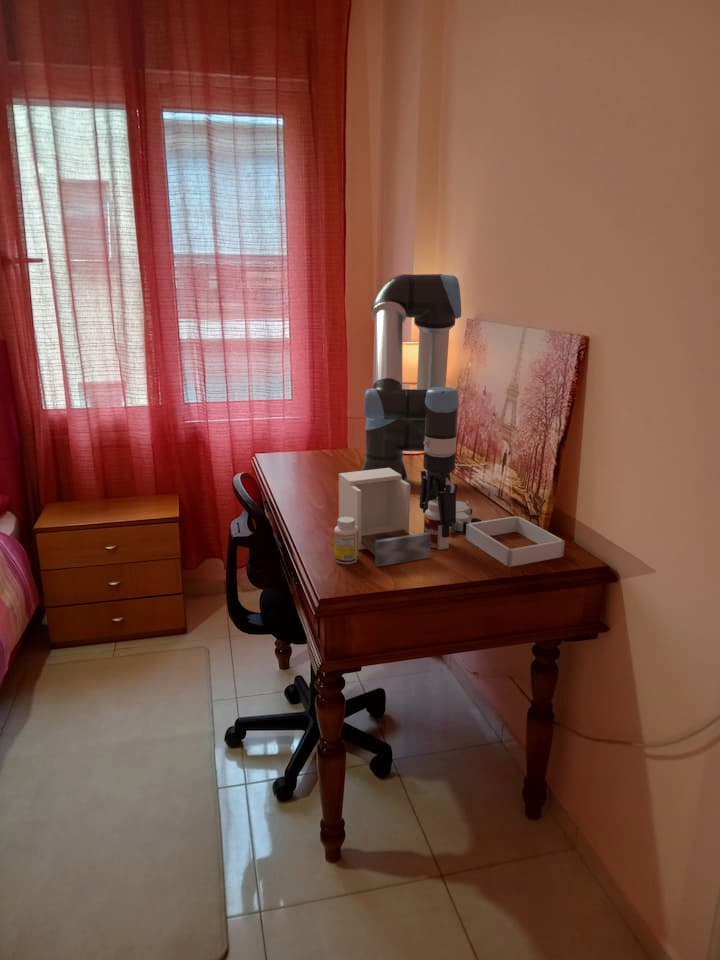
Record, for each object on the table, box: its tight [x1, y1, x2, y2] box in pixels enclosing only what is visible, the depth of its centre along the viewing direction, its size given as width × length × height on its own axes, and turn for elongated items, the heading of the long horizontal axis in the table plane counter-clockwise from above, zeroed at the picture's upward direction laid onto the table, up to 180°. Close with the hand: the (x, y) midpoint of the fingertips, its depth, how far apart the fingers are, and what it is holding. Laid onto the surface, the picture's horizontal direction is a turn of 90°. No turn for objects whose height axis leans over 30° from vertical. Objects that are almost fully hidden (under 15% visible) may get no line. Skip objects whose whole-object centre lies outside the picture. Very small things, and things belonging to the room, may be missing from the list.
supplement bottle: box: [333, 517, 359, 565], centre depth 158 cm, size 6×6×10 cm
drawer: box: [362, 529, 431, 568], centre depth 162 cm, size 14×12×6 cm
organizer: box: [465, 515, 566, 568], centre depth 167 cm, size 16×19×4 cm
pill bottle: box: [423, 498, 441, 549], centre depth 167 cm, size 6×6×11 cm
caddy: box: [338, 468, 411, 551], centre depth 171 cm, size 14×12×16 cm
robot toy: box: [450, 500, 483, 532], centre depth 182 cm, size 12×4×15 cm
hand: (435, 543), depth 169 cm, fingers open, 6 cm apart
